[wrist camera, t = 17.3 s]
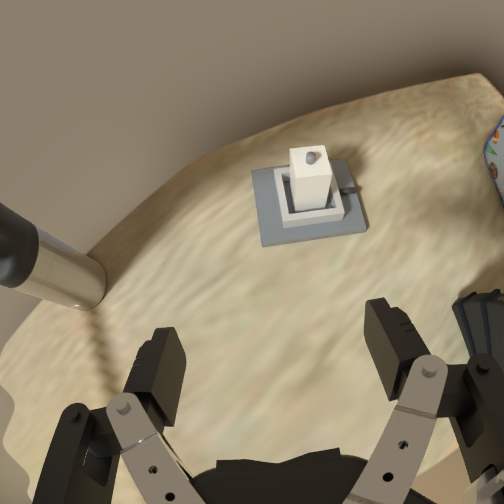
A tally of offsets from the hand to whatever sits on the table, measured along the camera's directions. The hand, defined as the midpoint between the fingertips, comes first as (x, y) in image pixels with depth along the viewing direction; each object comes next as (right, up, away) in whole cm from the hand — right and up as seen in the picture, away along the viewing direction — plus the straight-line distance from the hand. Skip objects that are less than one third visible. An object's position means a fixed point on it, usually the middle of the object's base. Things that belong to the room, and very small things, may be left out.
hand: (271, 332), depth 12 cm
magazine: (+34, -10, +25) cm, 43 cm away
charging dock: (+8, +11, +35) cm, 38 cm away
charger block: (+8, +12, +34) cm, 37 cm away
